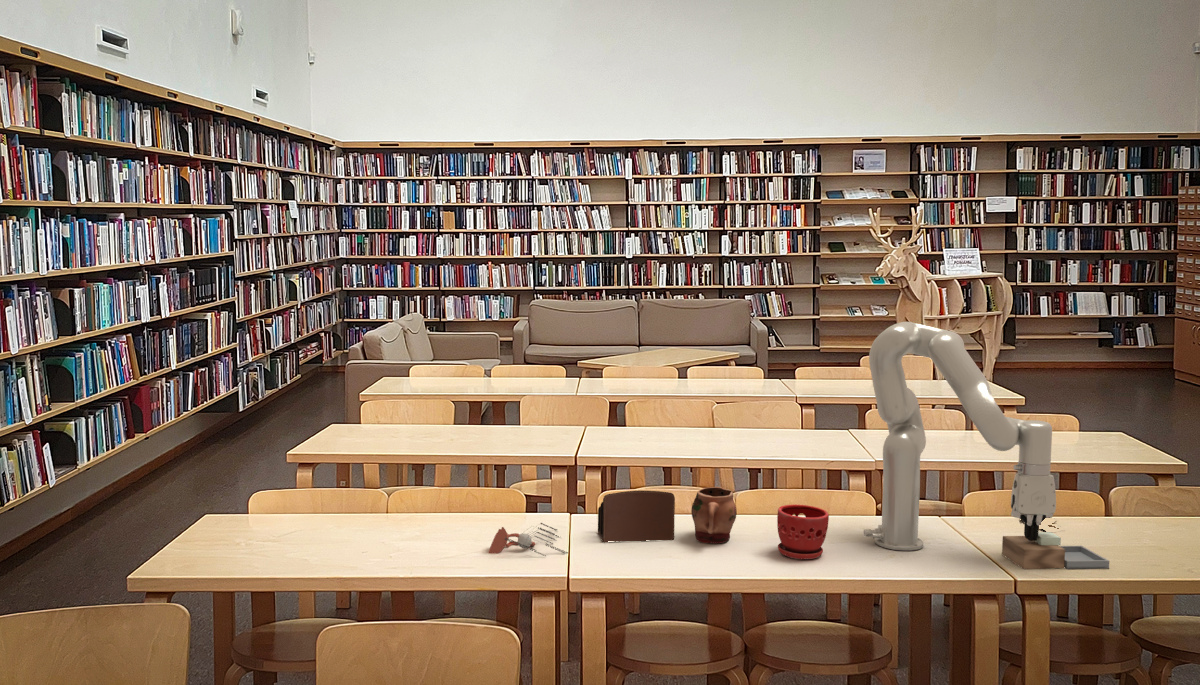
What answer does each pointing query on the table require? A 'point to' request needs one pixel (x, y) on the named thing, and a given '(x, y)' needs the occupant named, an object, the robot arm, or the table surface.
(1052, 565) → the brown wooden box
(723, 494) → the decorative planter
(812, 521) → the plant pot
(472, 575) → the table surface
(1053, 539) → the tile
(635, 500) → the letter holder
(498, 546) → the brown and grey pieces
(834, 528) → the table surface
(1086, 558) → the box
